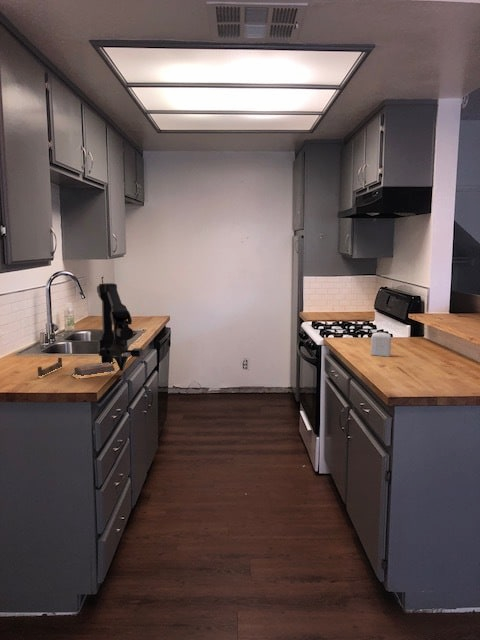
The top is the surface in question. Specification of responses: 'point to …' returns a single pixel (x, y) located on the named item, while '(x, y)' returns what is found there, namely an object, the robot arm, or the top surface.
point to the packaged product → (93, 369)
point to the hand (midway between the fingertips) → (121, 370)
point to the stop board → (50, 368)
